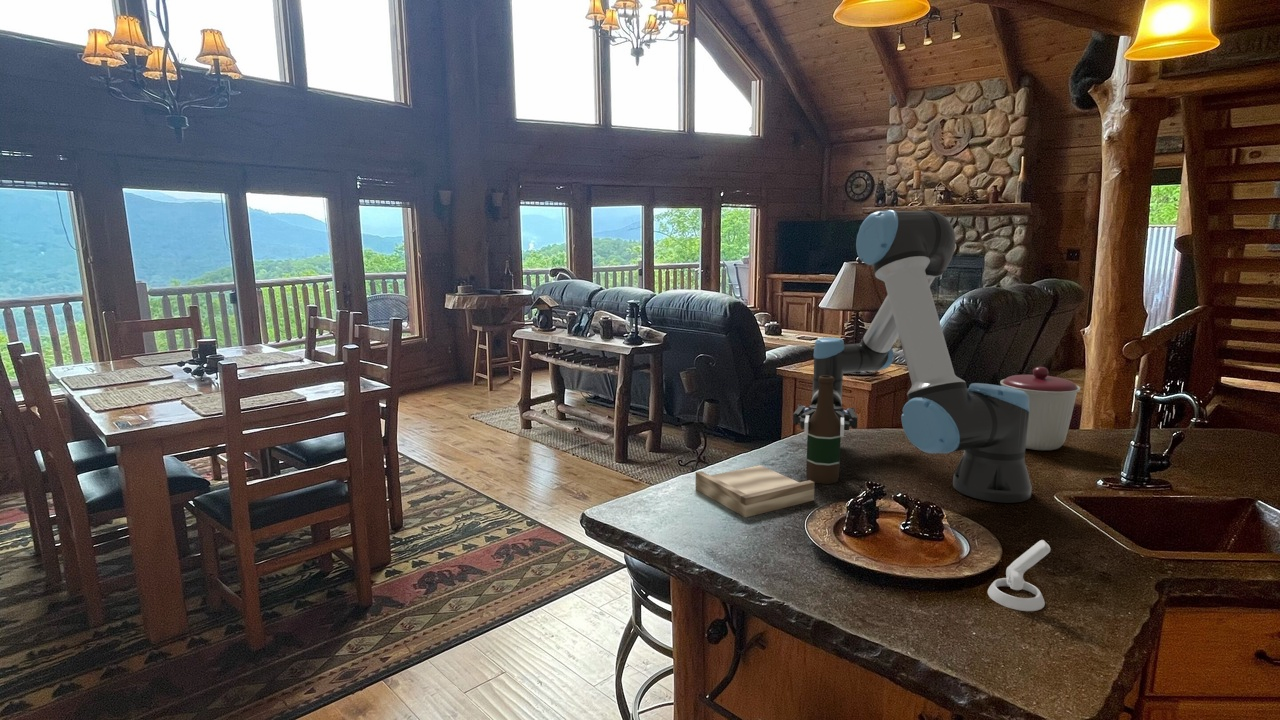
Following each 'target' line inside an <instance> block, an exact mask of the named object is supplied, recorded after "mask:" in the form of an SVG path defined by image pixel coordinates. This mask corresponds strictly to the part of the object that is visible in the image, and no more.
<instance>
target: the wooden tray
mask: <svg viewBox="0 0 1280 720" xmlns="http://www.w3.org/2000/svg"><path fill="white" fill-rule="evenodd" d="M815 484H816V483H815V482H813V481H810V480H808V479H807V480H804V481H797V480H795V479H793V478H790V477H788V476H786V475H783V474H781V473H779V472H777V471H774V470H772V469H770V468H767V467H765V466H763V465H761V464H757V465H754V466H751V467H746V468H741V469H739V468H738V469H736V470H731V471H725V472H722V473H716V474H711V475H710V474H707V473H706V472H704V471H703V470H700V471H699V470H698V471H696V472H695V490H696V491H698V493H699V492H700V493H701V494H702V495H705V496H707V497H708V498H710V499H711V500H713V501H715V502H717V503H718V504H721V505H723V506H724V507H726V508H728V509H730V510H731V511H733V512H735V513H736V514H738V515H740V516H741V517H743V518H749V517H754V516H758V515H760V514H764V513H765V514H766V513H769V512H774V511H776V510H777V511H778V510H781V509H785V508H789V507H793V506H796V505H801V504H805V503H810V502H813V501H814V500H815Z"/></svg>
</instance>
